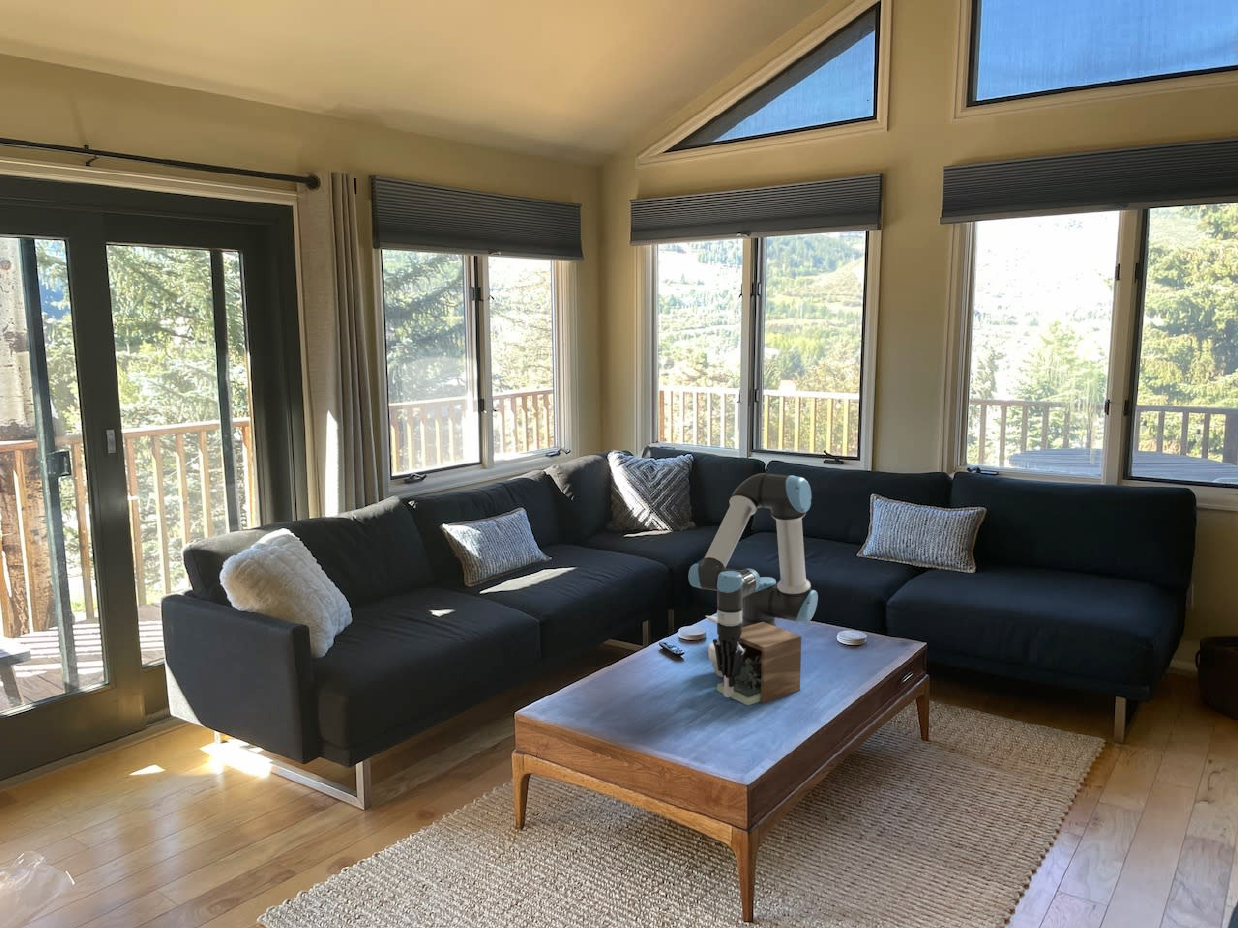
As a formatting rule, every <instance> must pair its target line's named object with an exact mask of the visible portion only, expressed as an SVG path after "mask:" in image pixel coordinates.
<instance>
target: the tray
mask: <svg viewBox="0 0 1238 928" xmlns="http://www.w3.org/2000/svg"><path fill="white" fill-rule="evenodd" d="M755 678H756V680H757V681H758V682H761V678H759V677H755ZM738 681H739V680H738ZM742 681H743V680H742ZM735 682H737V681H736V679H735ZM716 690H717V692H719V693H721V694H722V695H724V684H723V682H721V683H718V684H717V686H716ZM728 698H732V699H734V700H736V701H738V702H740V703H742V704H744V705H746V706H751V705H753V704H756V703H759V702H760V703H761V693H760V694H757V695H754V696H751V697H749V696H744V695H742V694H740V693H737V692H735V691H734V695H732V696H729V697H728Z"/></svg>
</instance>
